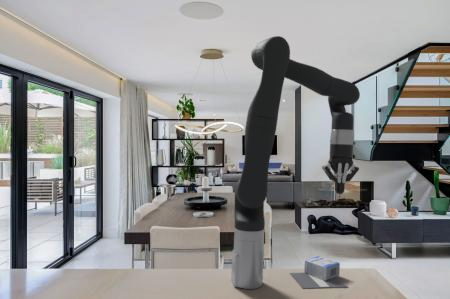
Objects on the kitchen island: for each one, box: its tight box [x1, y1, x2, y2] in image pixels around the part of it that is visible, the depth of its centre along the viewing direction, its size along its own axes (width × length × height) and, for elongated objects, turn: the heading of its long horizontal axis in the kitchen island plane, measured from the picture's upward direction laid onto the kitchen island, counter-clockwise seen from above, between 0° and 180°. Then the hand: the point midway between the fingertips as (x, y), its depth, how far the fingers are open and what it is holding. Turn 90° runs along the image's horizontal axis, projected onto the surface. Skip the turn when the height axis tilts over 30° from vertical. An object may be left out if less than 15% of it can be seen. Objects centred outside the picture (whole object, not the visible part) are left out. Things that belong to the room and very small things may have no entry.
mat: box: [289, 272, 349, 290], centre depth 113 cm, size 14×12×1 cm
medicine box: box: [303, 255, 341, 281], centre depth 117 cm, size 8×4×9 cm
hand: (339, 193), depth 120 cm, fingers closed
